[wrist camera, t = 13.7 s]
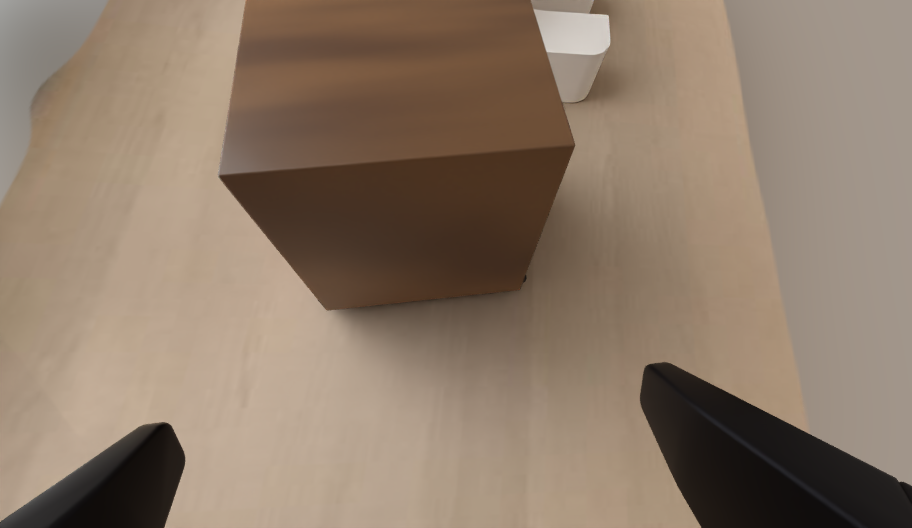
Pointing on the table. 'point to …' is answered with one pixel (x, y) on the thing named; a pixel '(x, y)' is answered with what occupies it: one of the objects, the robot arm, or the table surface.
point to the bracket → (573, 43)
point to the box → (396, 143)
